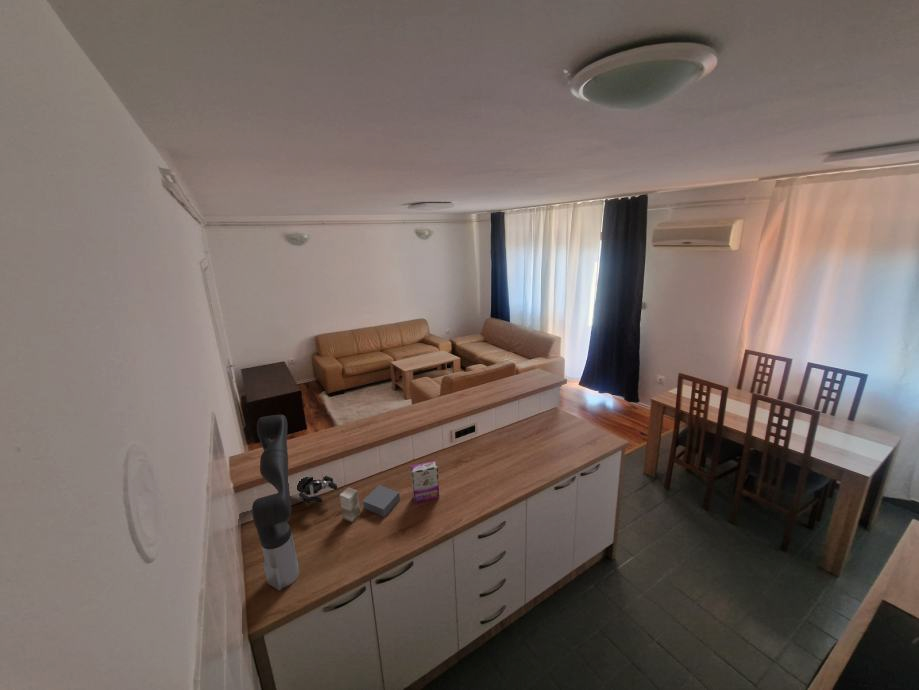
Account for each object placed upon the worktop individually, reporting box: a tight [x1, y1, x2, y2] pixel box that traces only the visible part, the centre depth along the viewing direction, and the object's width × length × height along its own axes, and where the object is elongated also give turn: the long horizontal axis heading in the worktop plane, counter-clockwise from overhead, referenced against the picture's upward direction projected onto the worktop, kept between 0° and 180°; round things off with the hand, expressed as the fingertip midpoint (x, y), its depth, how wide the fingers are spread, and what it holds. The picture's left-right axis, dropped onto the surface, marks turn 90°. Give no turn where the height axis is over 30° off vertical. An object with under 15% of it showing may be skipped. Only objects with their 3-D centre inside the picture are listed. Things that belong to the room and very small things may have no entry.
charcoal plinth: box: [362, 484, 401, 518], centre depth 157 cm, size 11×11×4 cm
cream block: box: [339, 487, 361, 523], centre depth 149 cm, size 5×5×12 cm
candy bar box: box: [410, 460, 440, 504], centre depth 159 cm, size 11×5×16 cm, turn 105°
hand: (329, 493), depth 154 cm, fingers open, 8 cm apart
